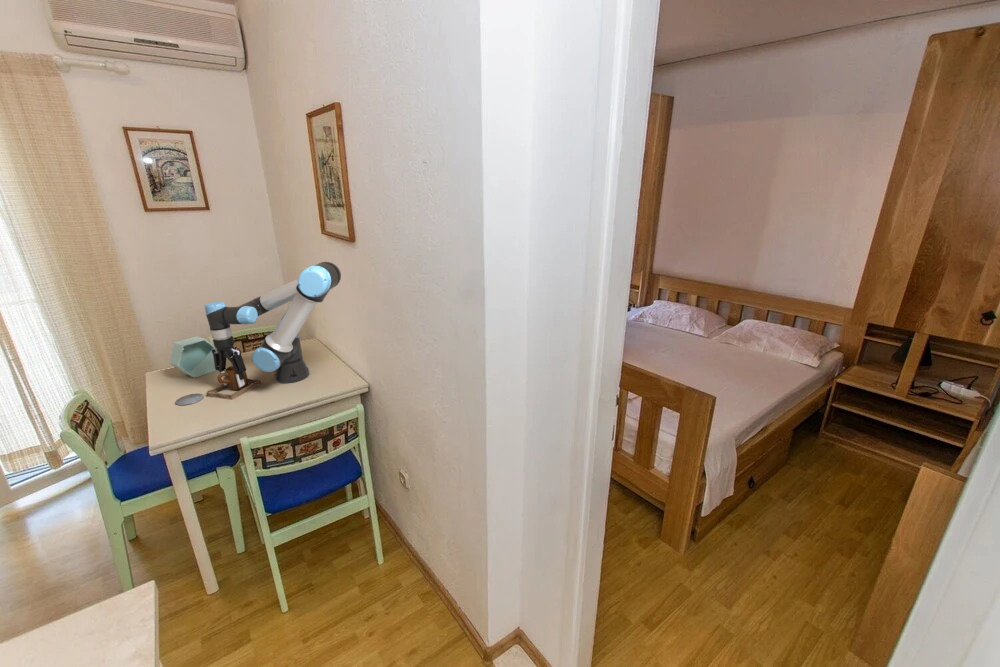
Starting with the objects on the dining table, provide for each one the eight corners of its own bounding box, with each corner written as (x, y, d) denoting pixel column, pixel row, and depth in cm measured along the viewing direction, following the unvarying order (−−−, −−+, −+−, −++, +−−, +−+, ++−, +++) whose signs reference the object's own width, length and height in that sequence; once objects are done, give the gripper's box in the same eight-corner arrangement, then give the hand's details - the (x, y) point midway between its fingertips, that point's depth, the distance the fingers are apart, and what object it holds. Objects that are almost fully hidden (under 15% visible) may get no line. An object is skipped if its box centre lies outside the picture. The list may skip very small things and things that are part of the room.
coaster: (209, 396, 191) (208, 394, 191) (188, 406, 182) (188, 405, 182) (191, 393, 194) (191, 392, 194) (170, 404, 185) (169, 402, 184)
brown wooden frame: (261, 383, 203) (260, 379, 202) (232, 399, 188) (231, 395, 187) (238, 380, 206) (237, 377, 206) (207, 396, 191) (206, 392, 190)
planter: (203, 384, 214) (167, 359, 199) (195, 380, 218) (159, 356, 203) (228, 357, 222) (196, 331, 207) (219, 354, 226) (187, 329, 211)
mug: (226, 395, 190) (221, 376, 187) (216, 392, 194) (211, 372, 191) (252, 385, 200) (248, 366, 197) (242, 381, 204) (238, 363, 200)
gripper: (248, 336, 189) (259, 383, 197) (211, 333, 195) (223, 379, 202) (234, 341, 183) (246, 390, 190) (196, 338, 188) (209, 386, 195)
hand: (234, 384), depth 196 cm, fingers closed on mug, 7 cm apart
